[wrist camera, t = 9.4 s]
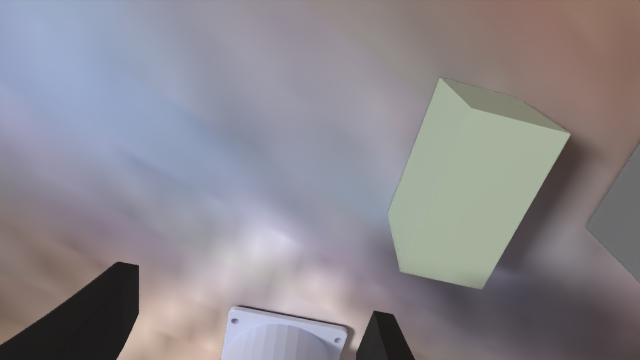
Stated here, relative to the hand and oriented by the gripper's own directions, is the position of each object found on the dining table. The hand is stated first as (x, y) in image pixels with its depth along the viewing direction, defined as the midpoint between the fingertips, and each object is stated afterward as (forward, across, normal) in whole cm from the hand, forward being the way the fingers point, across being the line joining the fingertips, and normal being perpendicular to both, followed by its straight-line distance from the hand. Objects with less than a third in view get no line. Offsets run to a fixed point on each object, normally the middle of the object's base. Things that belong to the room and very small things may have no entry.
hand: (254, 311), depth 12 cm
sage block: (+11, -8, -2) cm, 13 cm away
